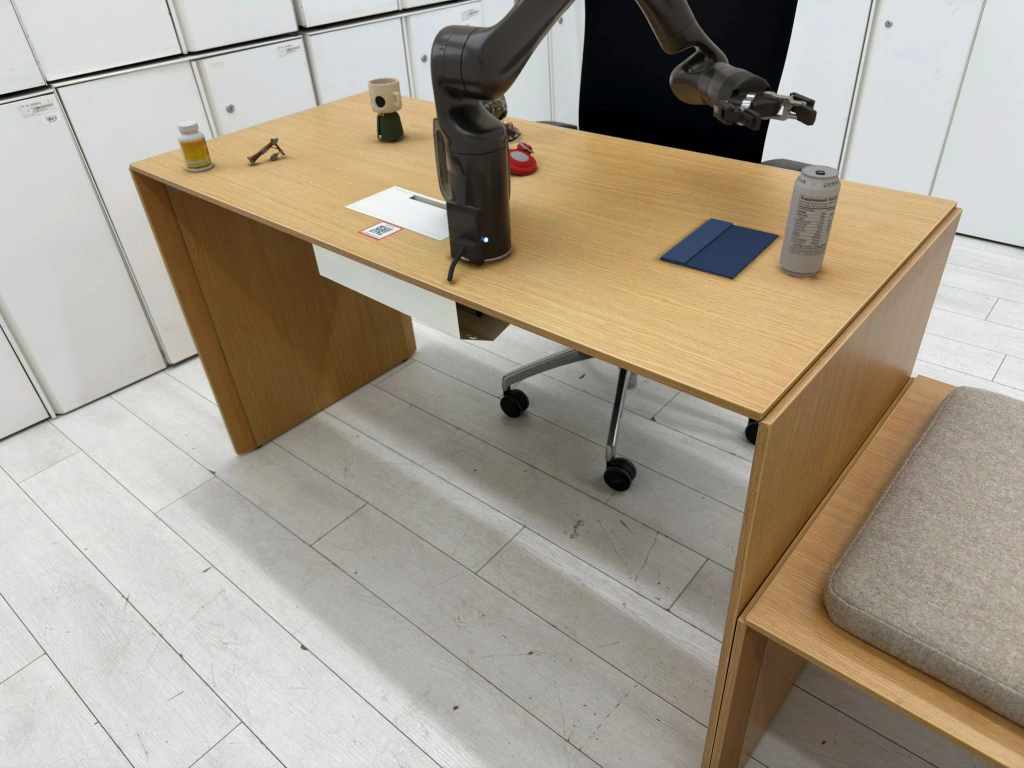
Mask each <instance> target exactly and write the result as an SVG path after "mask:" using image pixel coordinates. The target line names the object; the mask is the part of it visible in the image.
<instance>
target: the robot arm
mask: <svg viewBox="0 0 1024 768" xmlns="http://www.w3.org/2000/svg"><path fill="white" fill-rule="evenodd" d="M575 1H576V0H513V6H512V7H511V8H510V10H509V11H508V12H506V14H505V15H504V16H503V17H502V18H501V19H500V20H499V21H498V22H497V23H495V24H493V25H491V26H487V27H486V26H475V25H462V24H451V25H446V26H444V27H442V28H441V29H440V30H439V31H438V32H437V34H435V36H434V38H433V42H432V44H431V49H430V56H429V57H430V58H429V68H430V79H431V86H432V94H433V100H434V107H435V113H436V118H437V121H438V125H439V128H440V131H441V133H442V135H443V137H444V141H445V150H446V160H447V172H448V183H449V193H450V199H449V200H447V201H445V208H446V209H445V210H446V218H447V219H446V220H447V230H448V239H449V250H450V251H449V252H450V257H451V258H452V261H451V263H450V265H449V267H448V273H447V278H446V280H447V282H452V281H453V280H454V279H453V278H454V275H455V269H456V267H457V264H458V263H459V261H461V262H465V263H468V264H471V265H474V266H477V267H482V266H484V265H488V264H493V263H497V262H500V261H503V260H505V259H506V258H508V257H509V256H510V255H511V254H512V253H513V244H512V227H511V205H510V200H509V181H508V155H507V133H506V128H505V125H504V124H505V123H504V122H503V121H502V120H501V121H500V120H499V119H497V118H496V117H494V116H493V115H492V114H490V113H489V112H488V111H487V110H486V109H485V107H484V106H483V104H482V103H481V100H484V101H491V100H495V99H498V98H500V97H501V96H503V95H504V96H505V94H506V93H507V92H508V91H509V90H510V89H511V87H512V86H513V85H514V83H515V82H516V81H517V79H518V77H519V76H520V75H521V73H522V71H523V70H524V68H525V67H526V65H527V64H528V62H529V60H530V59H531V57H532V56H533V54H534V53H535V51H536V49H537V48H538V47H539V45H540V44H541V43H542V41H543V40H544V38H545V37H546V36H548V33H549V32H551V29H552V28H554V26H555V24H556V23H557V22H558V21H559V20H560V18H561V17H562V16H563V15H564V14H565V13H566V12H568V10H569V9H570V8H571V7H572V5H573V4H574V3H575ZM634 1H635V2H636V4H637V5H638V7H639V8H640V10H641V12H642V13H643V15H644V17H645V18H646V20H647V22H648V24H649V26H650V28H651V30H652V33H653V34H654V35H655V37H656V40H657V41H658V43H659V45H660V47H661V49H662V50H663V51H664V53H666V54H667V55H675V54H677V53H680V52H682V51H684V50H686V49H689V48H693V47H694V48H695V50H696V51H695V52H693V54H691V55H690V56H688V57H687V58H686V59H685V60H683V61H682V62H681V63H679V64H678V65H677V66H676V67H674V69H672V71H671V73H670V77H669V86H670V89H671V92H672V93H673V95H674V96H675V97H676V98H677V99H678V100H679V101H681V102H683V103H685V104H688V105H692V106H694V105H695V106H699V105H700V106H710V107H711V108H713V113H712V116H713V118H715V119H717V121H720V123H722V124H723V125H725V126H732V125H733V123H734V124H735V125H737V126H746V127H747V128H748V129H751V130H752V131H759V130H760V129H761V124H762V123H761V122H762V120H765V121H767V120H775V121H782V122H785V121H787V120H789V119H791V120H796V121H798V122H799V123H802V124H803V125H805V126H807V127H810V126H813V125H814V124H815V123H816V120H817V114H818V111H817V110H815V104H816V100H815V99H813V98H810V97H807V96H805V95H803V94H800V93H798V92H795V91H792V92H789V95H785V94H778V93H776V92H775V91H772V88H771V85H770V83H769V82H768V81H767V80H766V79H765V78H763V77H761V76H759V75H757V74H755V73H753V72H750V71H748V70H746V69H744V68H740V67H735V66H733V65H731V64H729V60H728V58H727V55H726V54H725V53H724V52H723V50H721V49H720V48H719V46H717V45H716V44H715V43H714V42H713V40H711V38H710V37H709V36H708V35H707V34H706V33H705V31H704V30H703V29H702V27H701V26H700V24H699V23H698V21H697V19H696V17H695V15H694V13H693V11H692V9H691V7H690V6H689V3H688V1H687V0H634ZM782 107H783V108H782ZM781 109H782V113H781V114H779V112H780V111H781ZM503 123H504V124H503Z"/></svg>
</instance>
